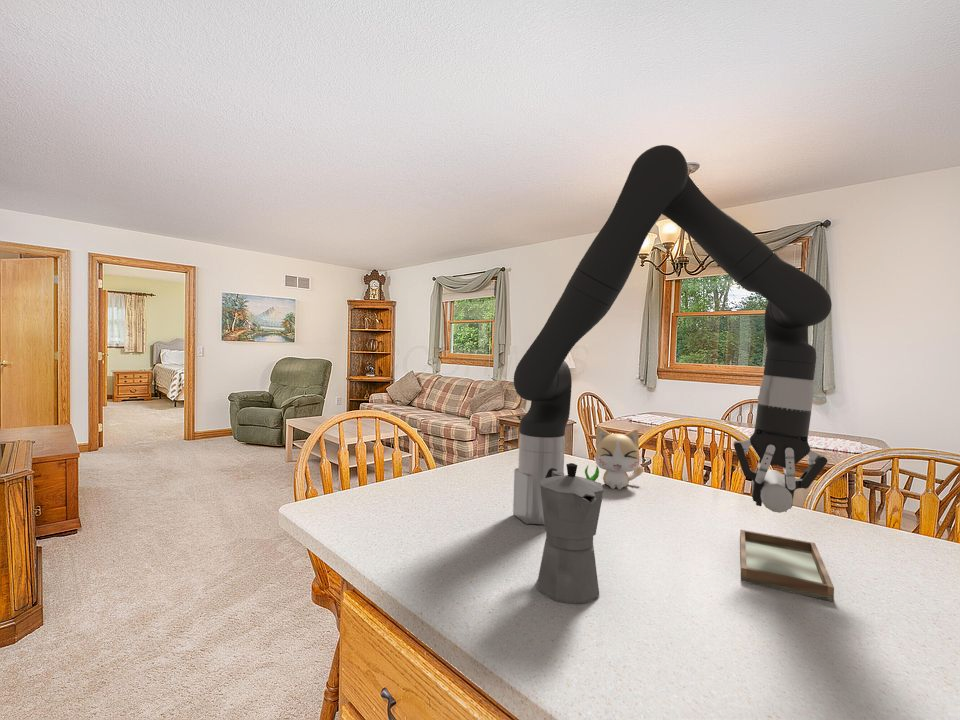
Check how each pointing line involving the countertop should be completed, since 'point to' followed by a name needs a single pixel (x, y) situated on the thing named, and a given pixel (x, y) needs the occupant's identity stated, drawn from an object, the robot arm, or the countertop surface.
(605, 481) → the kitten
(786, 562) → the tray
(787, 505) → the salt shaker
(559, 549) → the coffeepot
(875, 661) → the countertop surface
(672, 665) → the countertop surface
